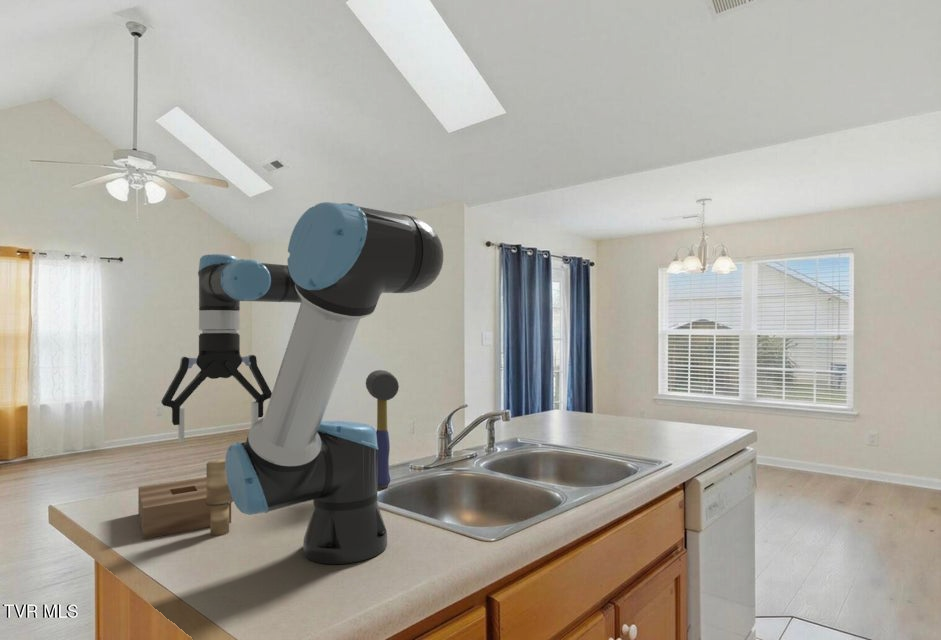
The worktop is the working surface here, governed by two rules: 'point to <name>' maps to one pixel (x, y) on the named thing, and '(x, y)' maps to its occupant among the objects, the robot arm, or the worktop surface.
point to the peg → (218, 497)
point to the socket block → (173, 507)
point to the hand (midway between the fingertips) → (219, 437)
